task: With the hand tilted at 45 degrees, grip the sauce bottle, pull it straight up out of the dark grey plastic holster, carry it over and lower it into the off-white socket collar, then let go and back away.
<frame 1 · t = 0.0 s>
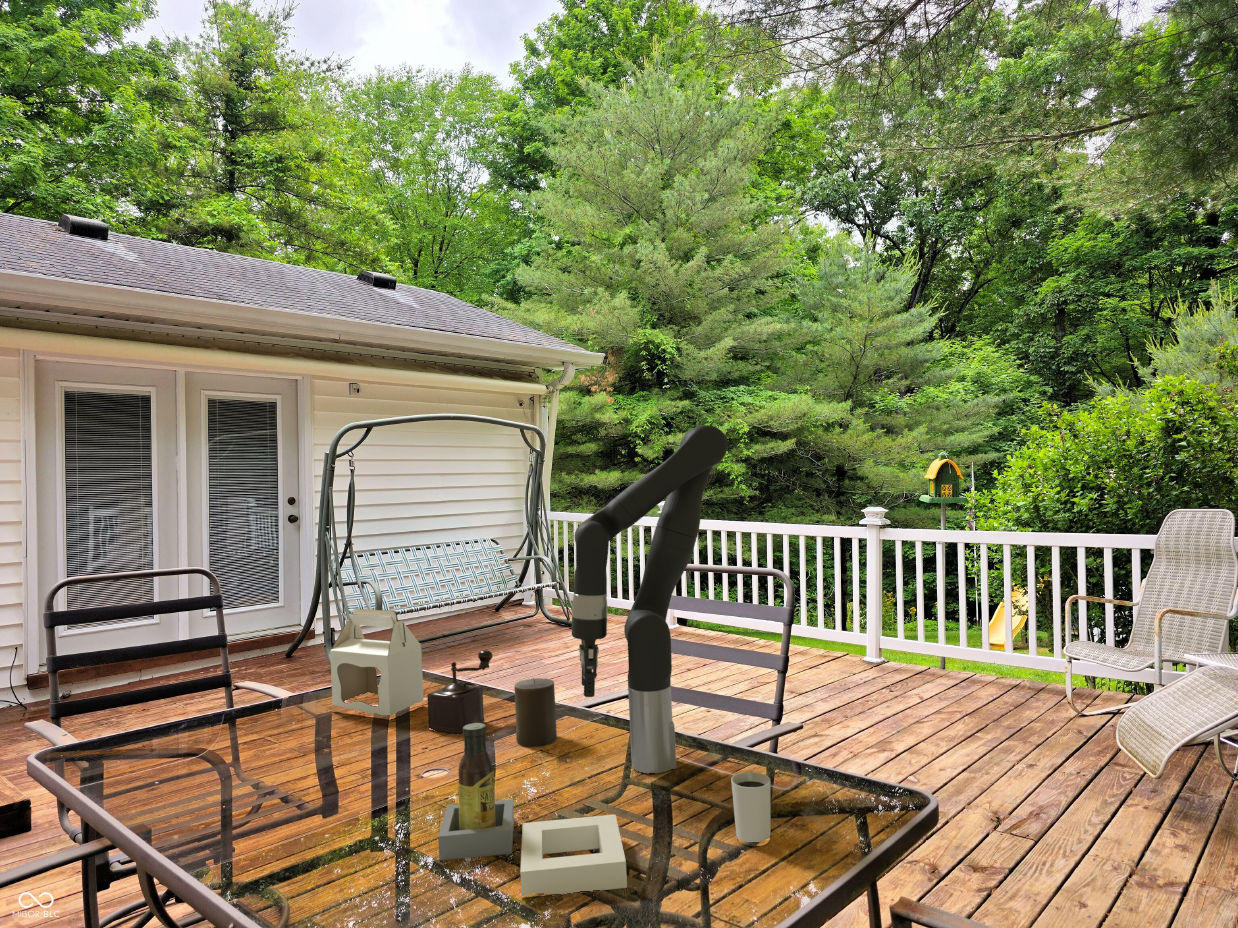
hand: (587, 690, 160), 17 cm above the table, tool pointing down, fingers open, 8 cm apart
manual coffee grinder: (464, 724, 196), on the table
holster: (478, 839, 132), on the table
white coffee cup: (753, 839, 128), on the table
socket collar: (572, 865, 122), on the table
pillar candle: (536, 740, 181), on the table
gable box: (378, 709, 211), on the table
sauce bottle: (478, 840, 132), resting in holster
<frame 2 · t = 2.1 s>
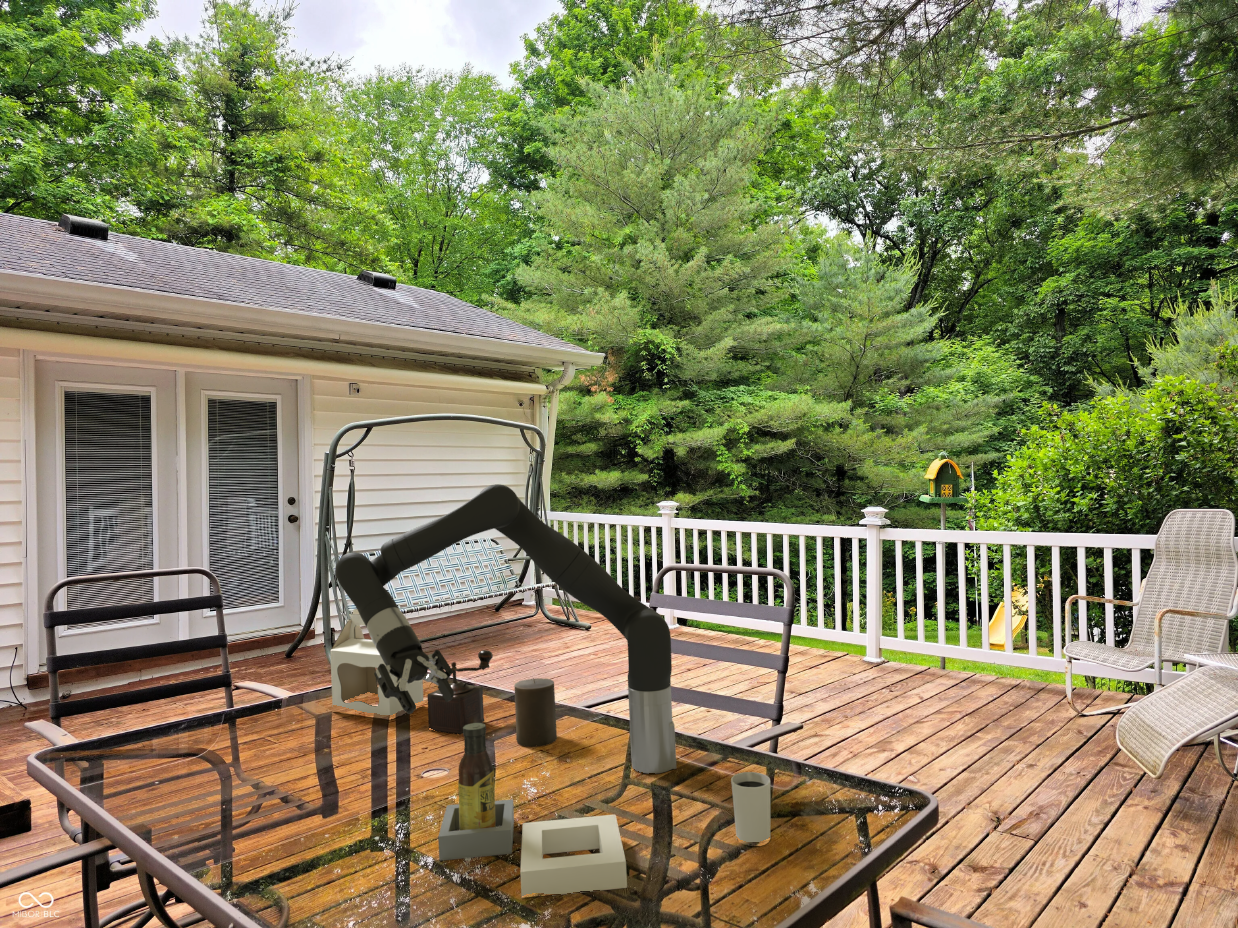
hand: (432, 704, 140), 22 cm above the table, tool tilted 45°, fingers open, 8 cm apart
nothing on the table moved.
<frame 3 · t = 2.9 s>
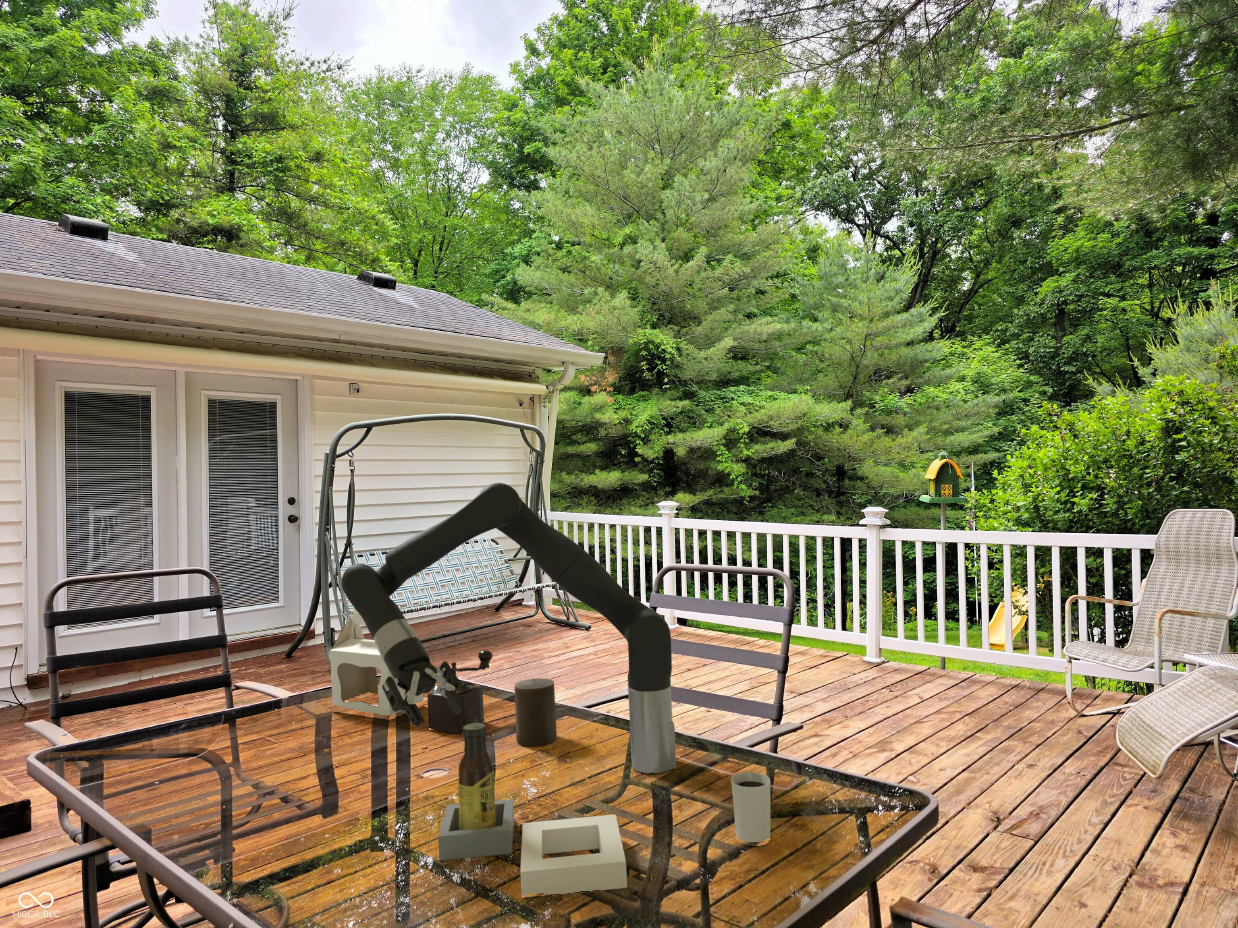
hand: (440, 717, 138), 20 cm above the table, tool tilted 45°, fingers open, 8 cm apart
nothing on the table moved.
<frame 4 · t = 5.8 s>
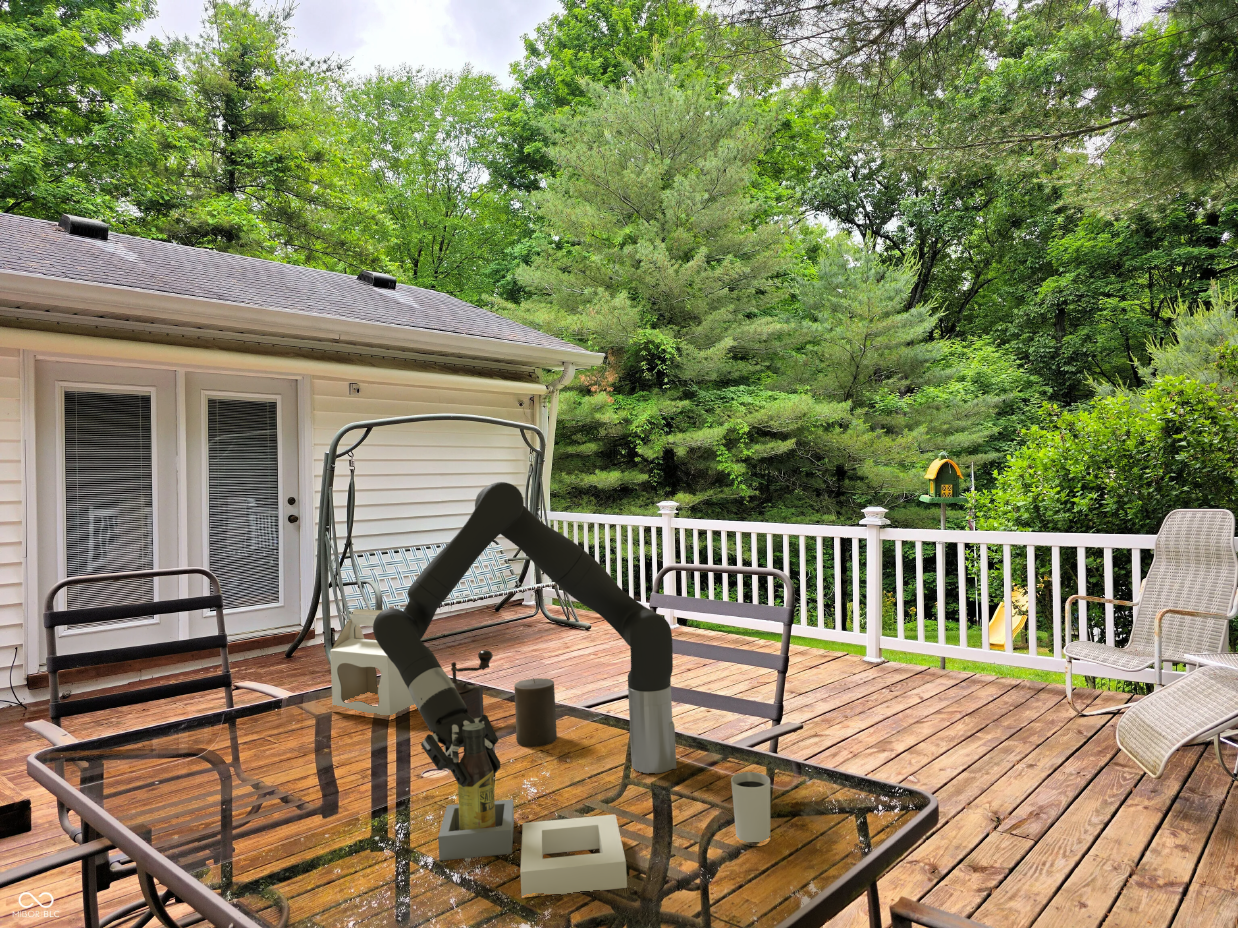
hand: (482, 776, 131), 11 cm above the table, tool tilted 45°, fingers closed on sauce bottle, 6 cm apart
sauce bottle: (478, 840, 132), resting in holster, touching gripper
everything else where it was.
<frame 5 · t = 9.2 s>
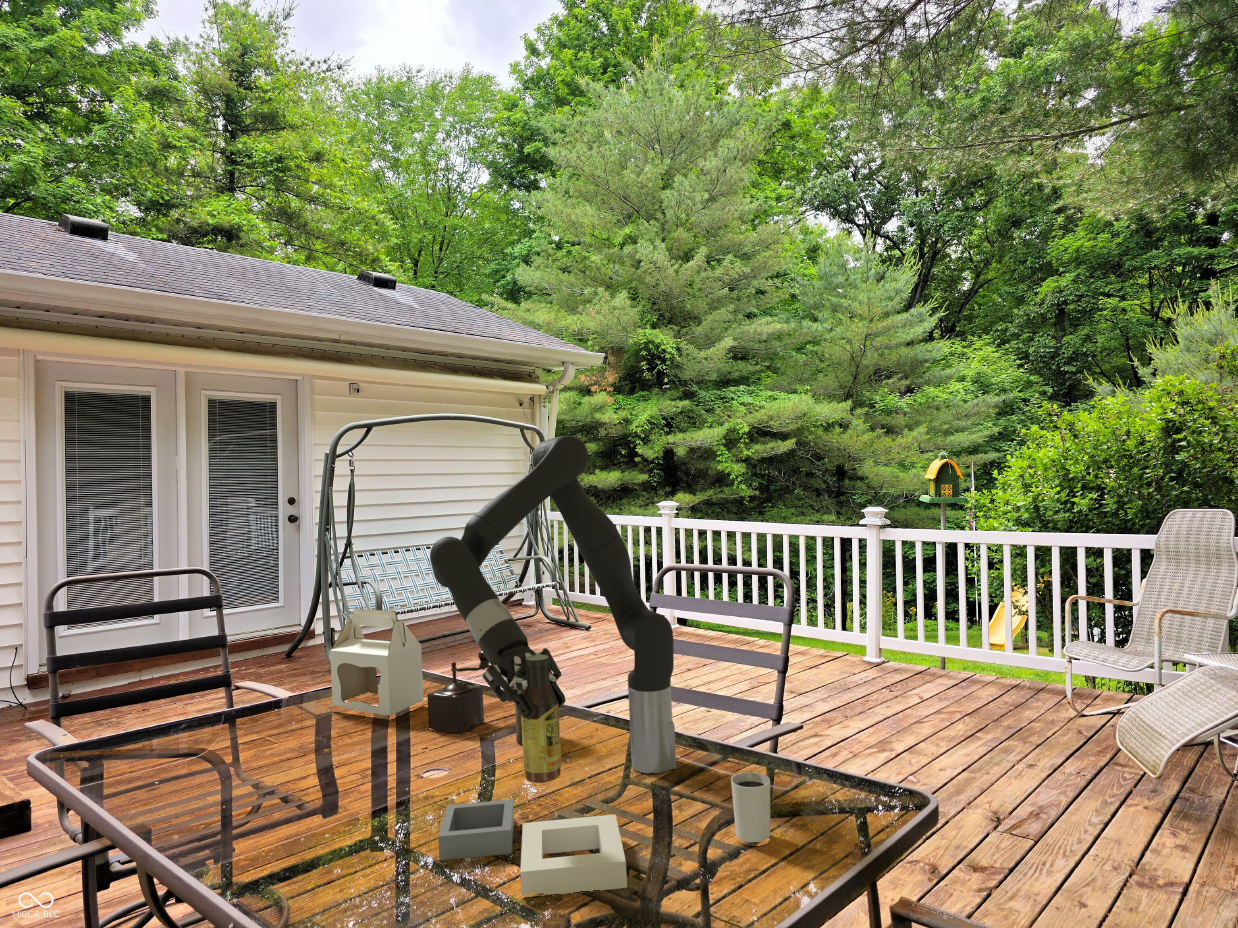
hand: (547, 710, 124), 25 cm above the table, tool tilted 45°, fingers closed on sauce bottle, 6 cm apart
sauce bottle: (543, 777, 125), point 13 cm above the table, touching gripper
everything else where it was.
when the fingers open (13 cm above the table, at t = 13.1 s): sauce bottle drops 1 cm, resting in socket collar.
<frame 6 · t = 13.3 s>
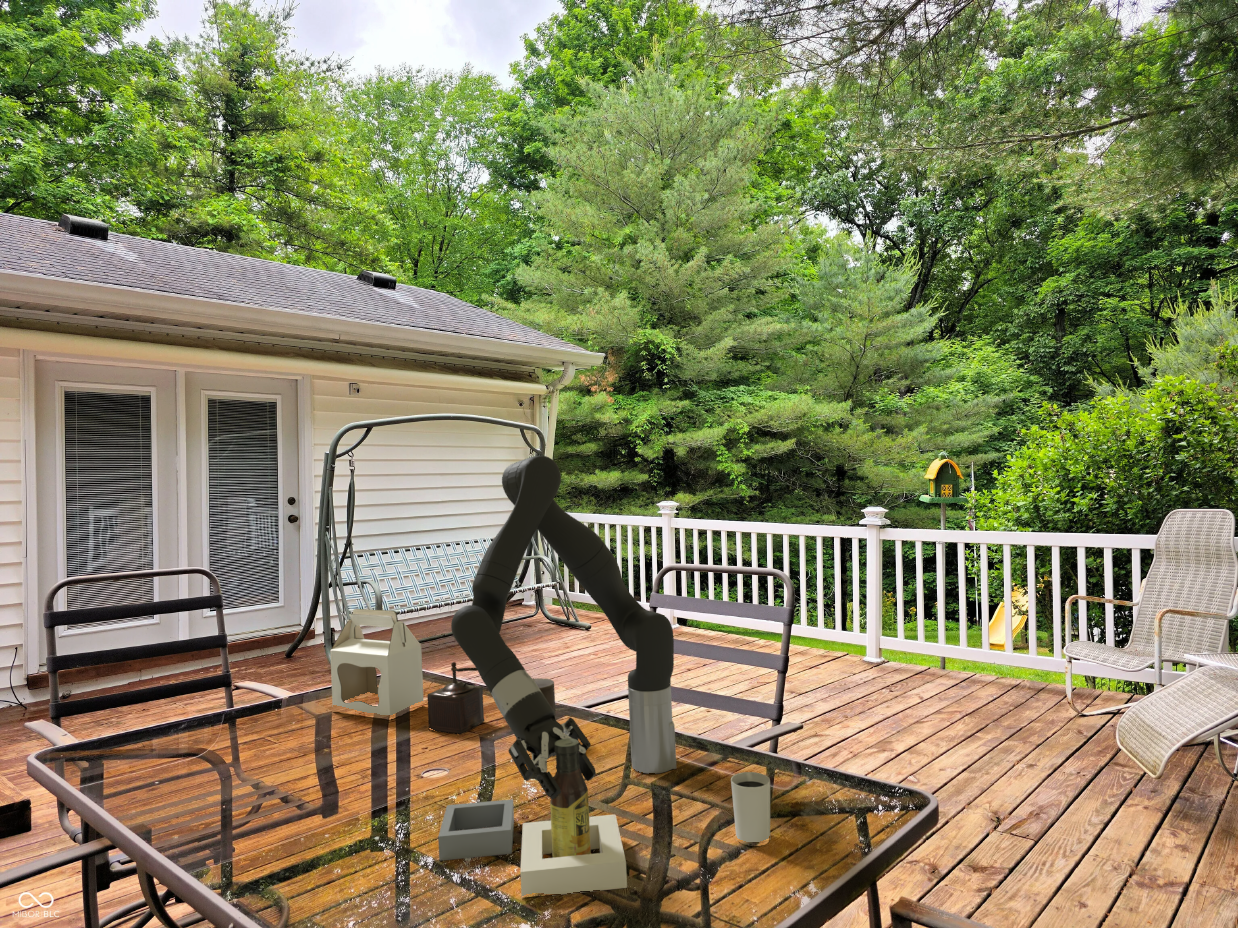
hand: (575, 786, 121), 13 cm above the table, tool tilted 45°, fingers open, 8 cm apart
sauce bottle: (572, 865, 122), resting in socket collar
everything else where it was.
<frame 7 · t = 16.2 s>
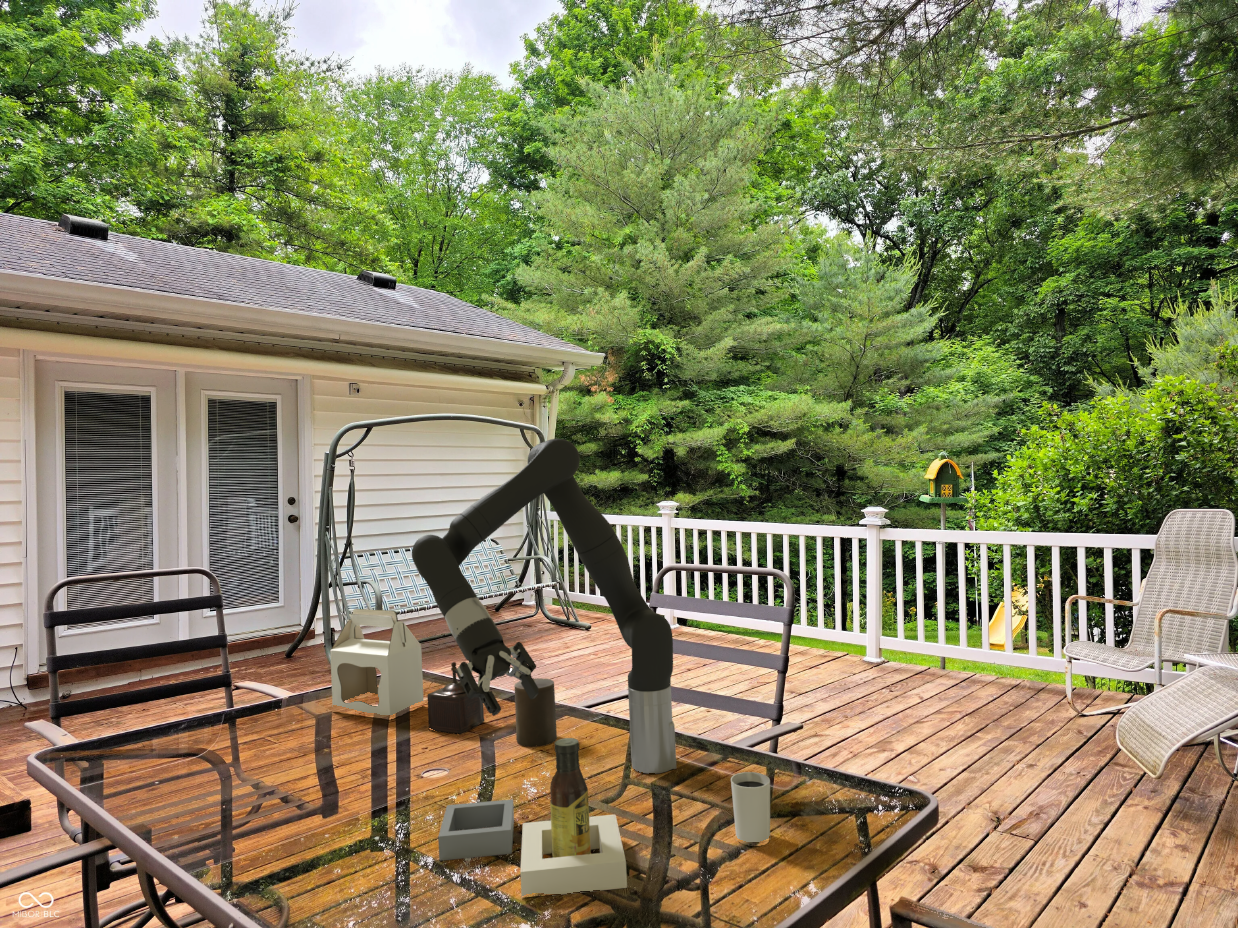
hand: (516, 704, 132), 24 cm above the table, tool tilted 40°, fingers open, 8 cm apart
nothing on the table moved.
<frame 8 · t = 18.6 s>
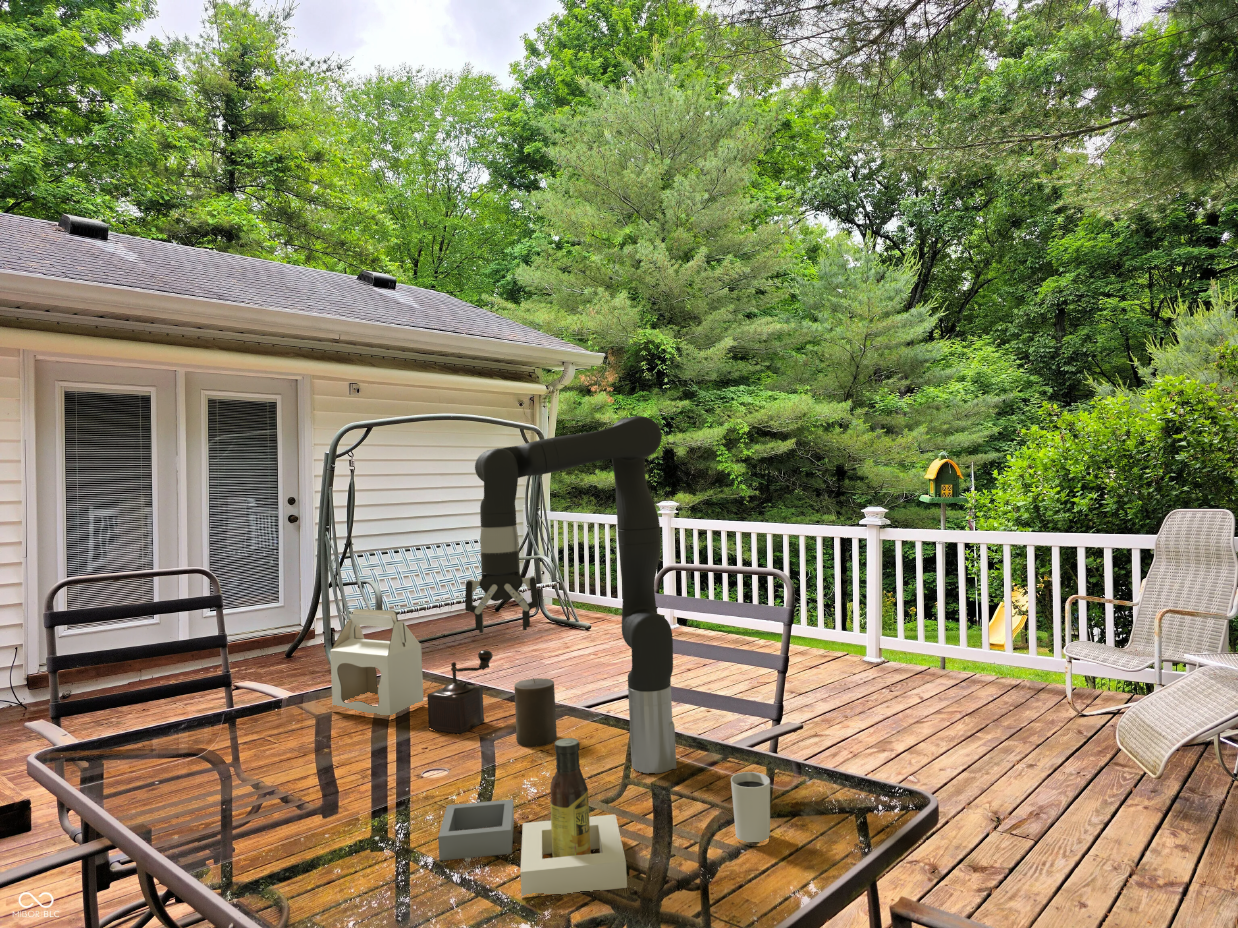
hand: (503, 630, 149), 33 cm above the table, tool pointing down, fingers open, 8 cm apart
nothing on the table moved.
at the end: sauce bottle 0.3 cm off-centre on the socket collar, point 0.0 cm above the socket collar's base; sauce bottle tilted 0°; the gripper is holding nothing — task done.
